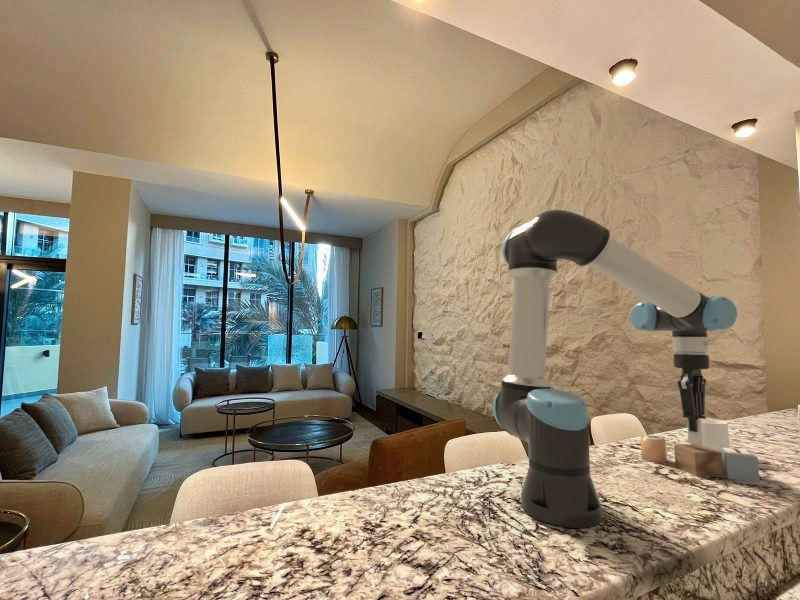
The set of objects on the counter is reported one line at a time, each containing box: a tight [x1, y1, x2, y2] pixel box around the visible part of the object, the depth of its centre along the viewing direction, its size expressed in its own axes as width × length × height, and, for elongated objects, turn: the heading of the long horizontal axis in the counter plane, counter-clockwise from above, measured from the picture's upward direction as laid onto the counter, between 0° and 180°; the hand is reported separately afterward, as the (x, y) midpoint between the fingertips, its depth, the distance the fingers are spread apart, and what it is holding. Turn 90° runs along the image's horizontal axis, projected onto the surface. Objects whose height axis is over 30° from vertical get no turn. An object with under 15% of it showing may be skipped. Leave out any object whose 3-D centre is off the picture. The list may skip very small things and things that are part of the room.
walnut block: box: [673, 443, 724, 478], centre depth 99 cm, size 7×7×6 cm
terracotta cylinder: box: [640, 434, 668, 464], centre depth 108 cm, size 6×6×6 cm
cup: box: [700, 417, 731, 451], centre depth 112 cm, size 8×12×10 cm
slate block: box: [718, 447, 761, 483], centre depth 95 cm, size 6×6×6 cm
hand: (695, 443), depth 99 cm, fingers closed
